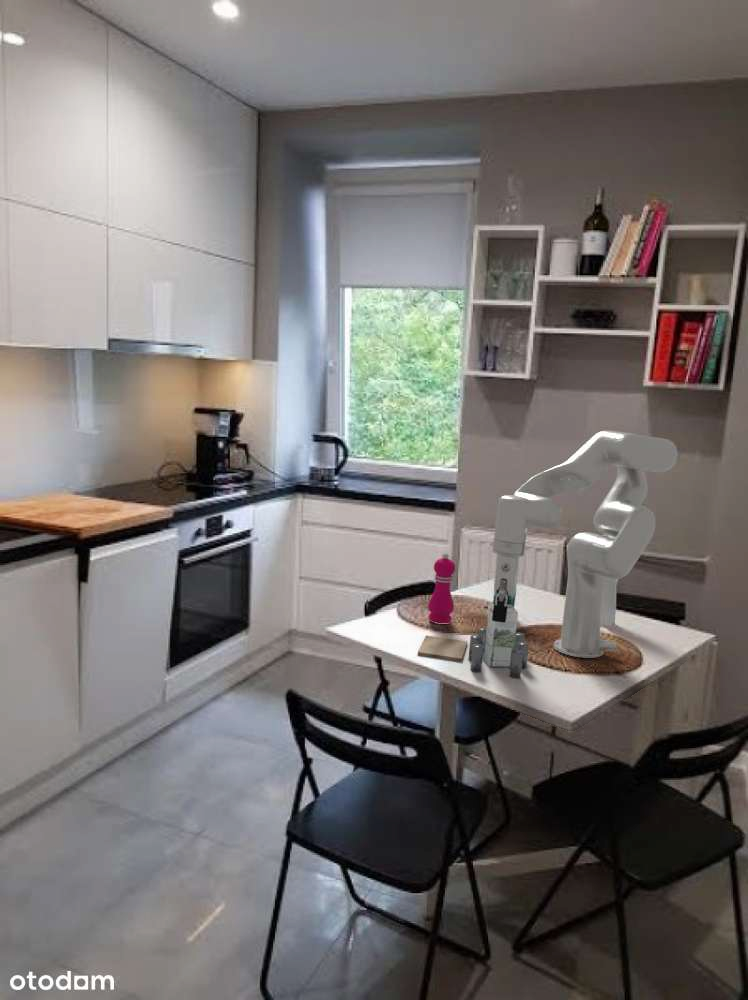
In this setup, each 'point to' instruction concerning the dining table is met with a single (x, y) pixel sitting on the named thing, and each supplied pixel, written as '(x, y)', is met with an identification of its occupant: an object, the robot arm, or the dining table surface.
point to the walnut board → (442, 648)
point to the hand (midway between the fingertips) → (499, 615)
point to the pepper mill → (442, 591)
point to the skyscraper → (609, 599)
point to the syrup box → (500, 638)
